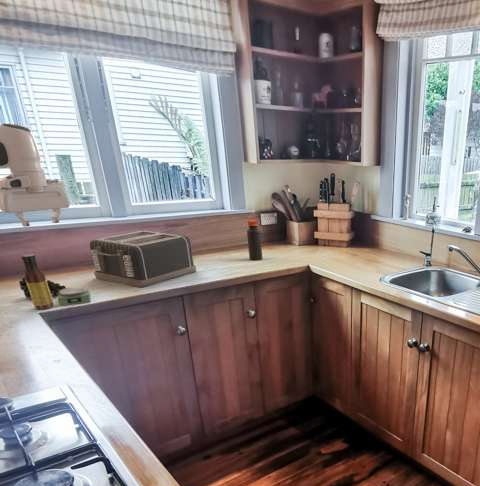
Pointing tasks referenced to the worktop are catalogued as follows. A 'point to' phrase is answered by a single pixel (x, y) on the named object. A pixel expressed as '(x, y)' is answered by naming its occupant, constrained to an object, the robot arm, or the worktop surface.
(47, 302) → the sauce bottle
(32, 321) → the worktop surface
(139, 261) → the toaster
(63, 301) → the scale
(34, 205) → the robot arm
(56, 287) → the fruit
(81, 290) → the scale pan
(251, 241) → the vinegar
